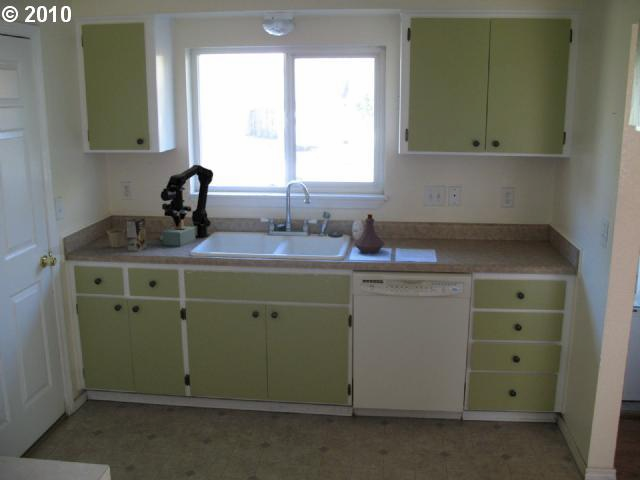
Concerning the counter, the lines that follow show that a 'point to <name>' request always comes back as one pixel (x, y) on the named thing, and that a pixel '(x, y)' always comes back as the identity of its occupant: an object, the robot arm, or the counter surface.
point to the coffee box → (136, 234)
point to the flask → (369, 238)
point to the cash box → (178, 236)
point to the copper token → (181, 224)
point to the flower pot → (116, 237)
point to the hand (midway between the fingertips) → (178, 226)
